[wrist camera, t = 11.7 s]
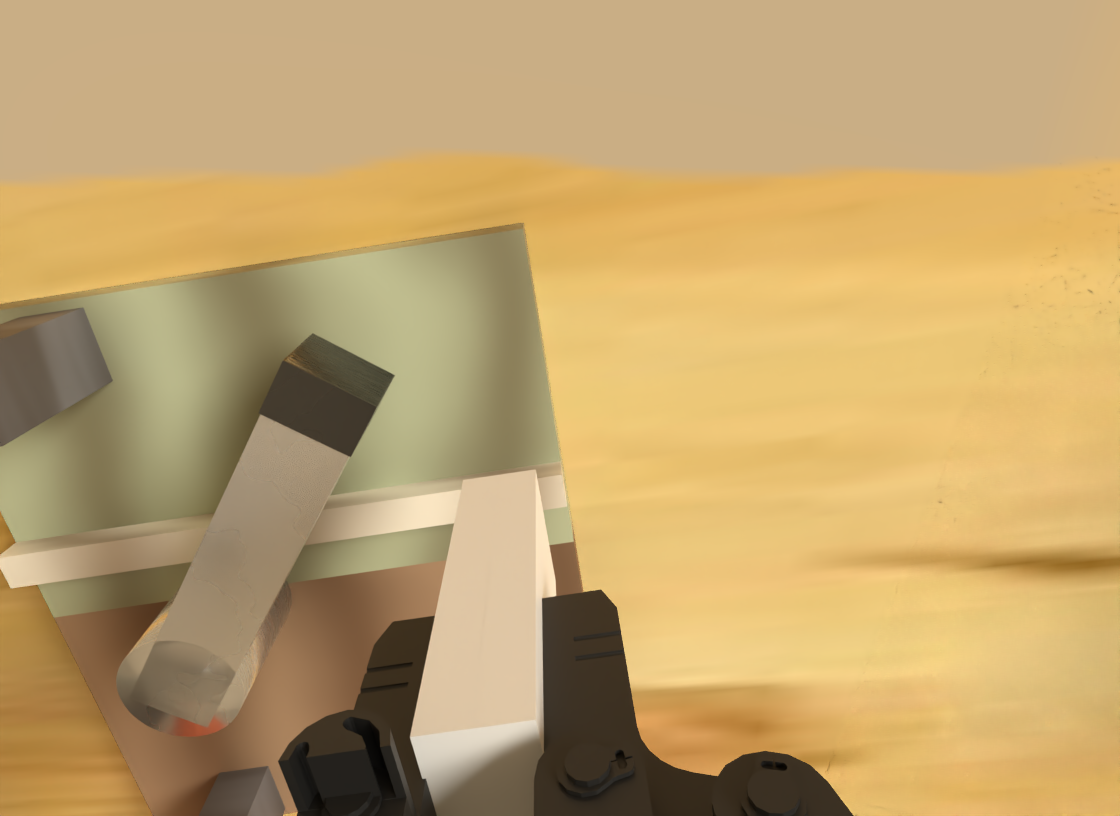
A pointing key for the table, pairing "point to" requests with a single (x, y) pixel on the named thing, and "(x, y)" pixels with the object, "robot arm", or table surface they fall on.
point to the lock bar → (252, 545)
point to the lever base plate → (217, 445)
